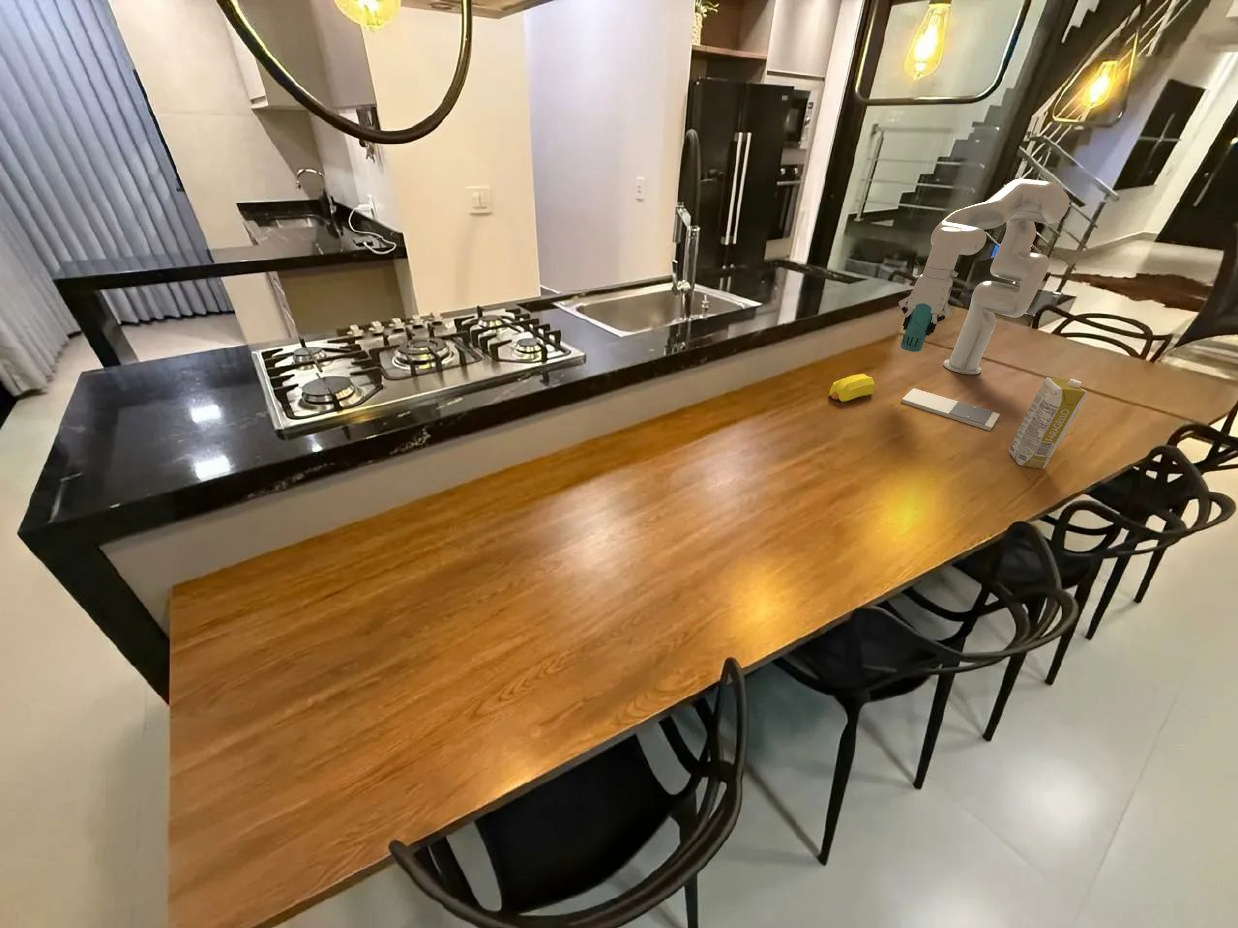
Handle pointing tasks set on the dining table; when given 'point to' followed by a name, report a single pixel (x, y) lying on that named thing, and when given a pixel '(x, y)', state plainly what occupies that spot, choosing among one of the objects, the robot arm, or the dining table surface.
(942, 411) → the floor panel
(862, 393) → the yellow faceted oblong part
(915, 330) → the beverage bottle
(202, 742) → the dining table surface
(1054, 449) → the juice carton
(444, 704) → the dining table surface
